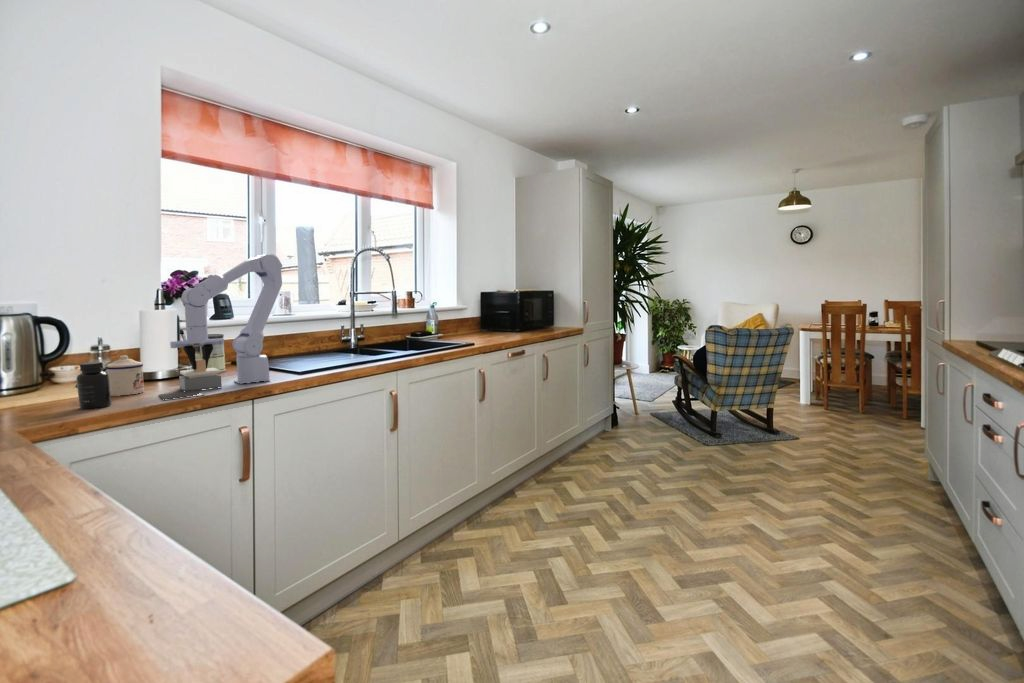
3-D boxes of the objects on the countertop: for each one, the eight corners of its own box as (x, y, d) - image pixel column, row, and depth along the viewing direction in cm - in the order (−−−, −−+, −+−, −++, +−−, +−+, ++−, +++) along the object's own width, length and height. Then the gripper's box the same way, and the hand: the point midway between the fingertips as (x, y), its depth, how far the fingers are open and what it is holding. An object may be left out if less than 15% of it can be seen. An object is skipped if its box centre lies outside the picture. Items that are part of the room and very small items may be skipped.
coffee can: (188, 373, 198) (186, 336, 196) (207, 369, 208) (204, 333, 206) (214, 373, 196) (211, 336, 195) (231, 369, 207) (229, 333, 205)
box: (215, 384, 173) (214, 372, 173) (221, 388, 167) (220, 375, 167) (180, 388, 166) (179, 376, 166) (185, 392, 160) (184, 379, 160)
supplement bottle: (91, 404, 144) (87, 361, 143) (117, 403, 145) (113, 360, 144) (72, 410, 138) (68, 364, 136) (100, 409, 138) (96, 364, 137)
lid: (214, 373, 172) (213, 357, 172) (220, 375, 167) (219, 359, 166) (180, 376, 166) (179, 360, 165) (185, 379, 160) (184, 362, 160)
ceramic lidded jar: (141, 395, 157) (138, 356, 156) (104, 397, 153) (100, 358, 152) (150, 388, 168) (147, 352, 167) (115, 390, 164) (112, 353, 163)
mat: (197, 391, 162) (196, 390, 162) (203, 395, 155) (203, 394, 155) (158, 395, 155) (158, 394, 155) (163, 400, 149) (163, 399, 149)
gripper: (172, 328, 157) (175, 373, 158) (225, 325, 167) (228, 367, 168) (167, 327, 162) (171, 370, 164) (219, 324, 172) (222, 365, 173)
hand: (199, 369), depth 166 cm, fingers closed on lid, 2 cm apart
